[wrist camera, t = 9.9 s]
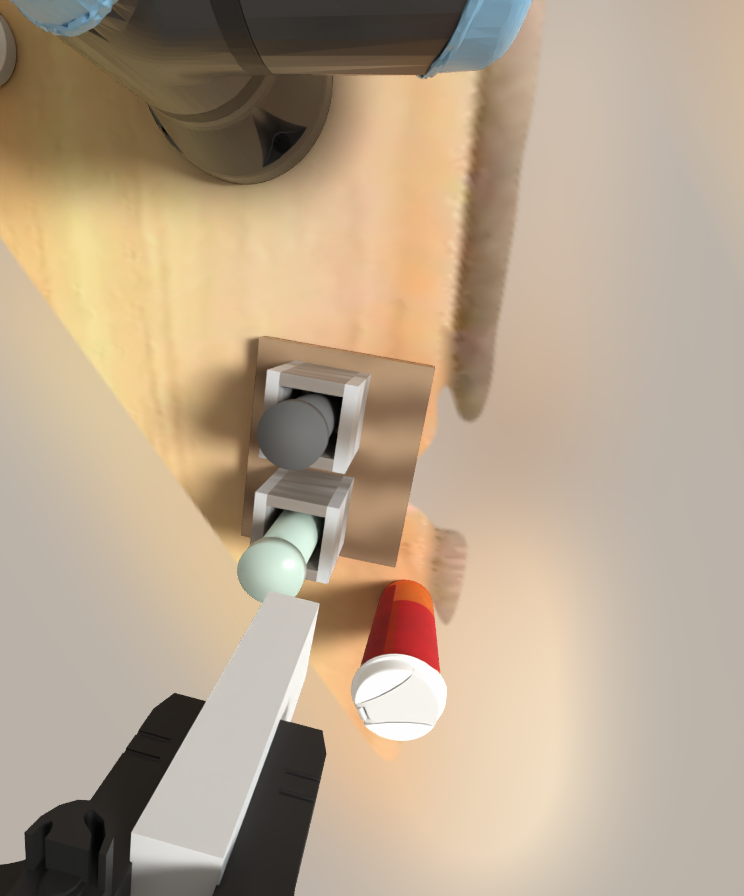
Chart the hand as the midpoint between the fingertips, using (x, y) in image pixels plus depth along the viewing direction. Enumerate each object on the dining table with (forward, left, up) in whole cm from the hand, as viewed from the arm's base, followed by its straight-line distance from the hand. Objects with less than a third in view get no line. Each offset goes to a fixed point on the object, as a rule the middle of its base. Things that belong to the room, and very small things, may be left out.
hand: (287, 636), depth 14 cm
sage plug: (+10, -5, -29) cm, 31 cm away
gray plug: (0, -5, -30) cm, 31 cm away
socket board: (+5, -4, -33) cm, 33 cm away
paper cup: (+20, +6, -33) cm, 39 cm away
